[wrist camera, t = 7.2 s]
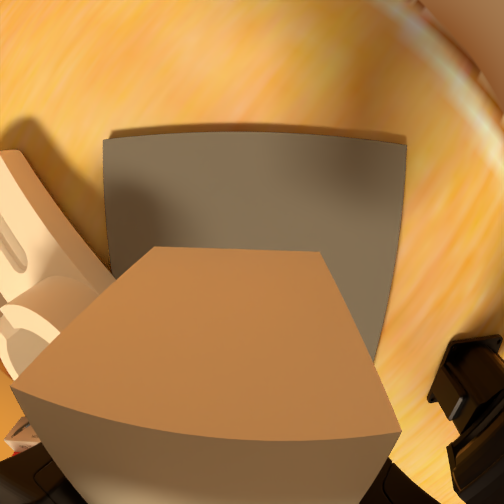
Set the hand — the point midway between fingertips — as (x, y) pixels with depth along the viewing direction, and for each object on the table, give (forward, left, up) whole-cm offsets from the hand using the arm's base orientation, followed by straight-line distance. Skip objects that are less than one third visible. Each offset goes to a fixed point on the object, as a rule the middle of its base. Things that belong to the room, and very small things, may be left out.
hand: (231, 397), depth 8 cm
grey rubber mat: (0, 0, -11) cm, 11 cm away
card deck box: (0, 0, -1) cm, 1 cm away
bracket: (+15, 0, -11) cm, 19 cm away
